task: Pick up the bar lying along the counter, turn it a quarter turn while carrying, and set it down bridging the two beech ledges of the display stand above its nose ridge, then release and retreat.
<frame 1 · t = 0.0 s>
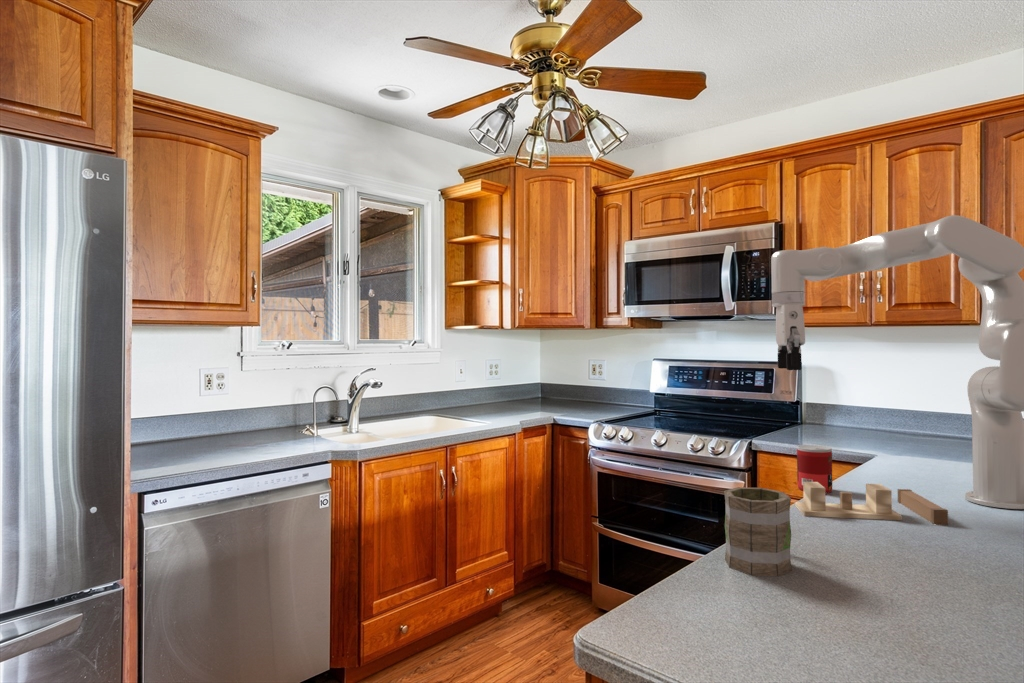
hand: (789, 369, 150), 31 cm above the counter, fingers open, 9 cm apart
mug: (760, 561, 105), on the counter
frame bar: (921, 512, 133), on the counter
display stand: (846, 513, 133), on the counter
canned food: (814, 491, 154), on the counter
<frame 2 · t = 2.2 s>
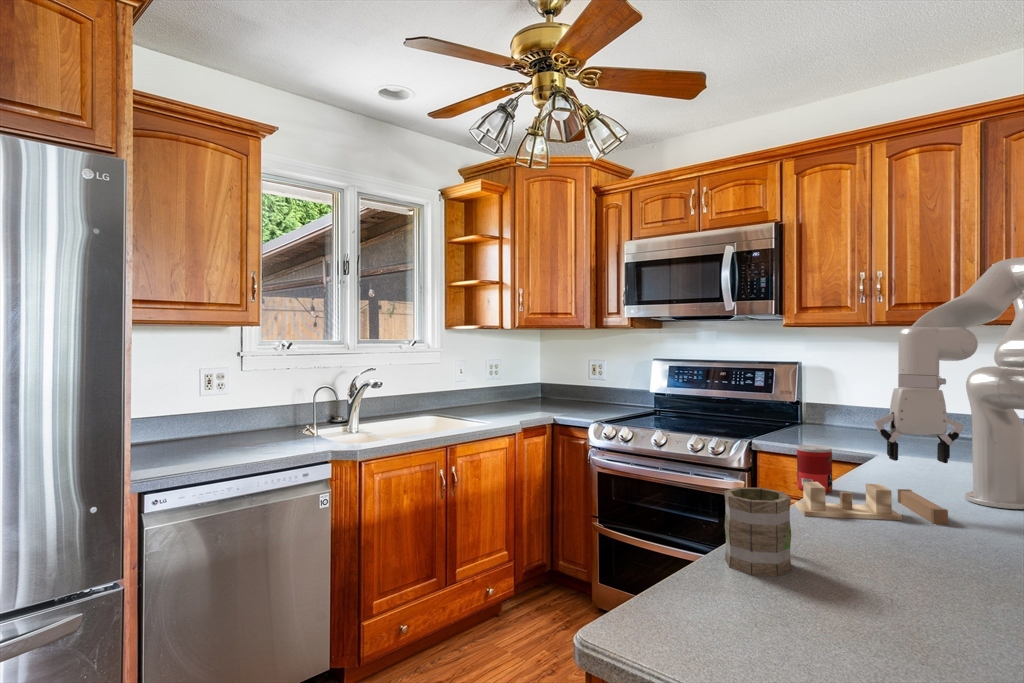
hand: (917, 460, 133), 11 cm above the counter, fingers open, 9 cm apart
nothing on the counter moved.
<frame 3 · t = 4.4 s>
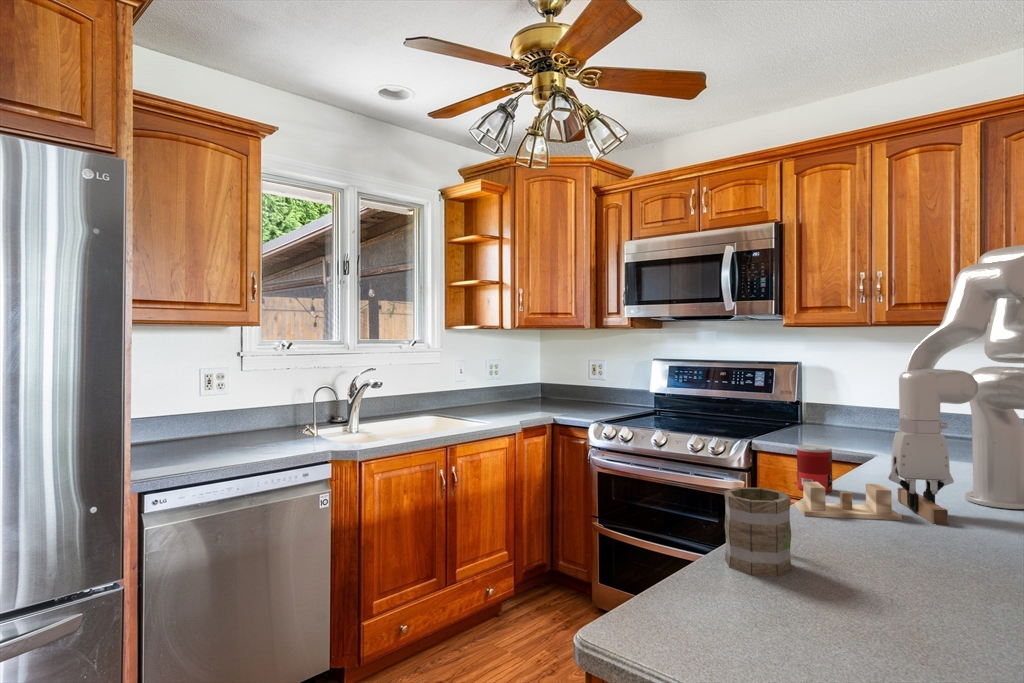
hand: (921, 510, 133), 1 cm above the counter, fingers closed on frame bar, 2 cm apart
frame bar: (921, 512, 133), on the counter, touching gripper
everything else where it was.
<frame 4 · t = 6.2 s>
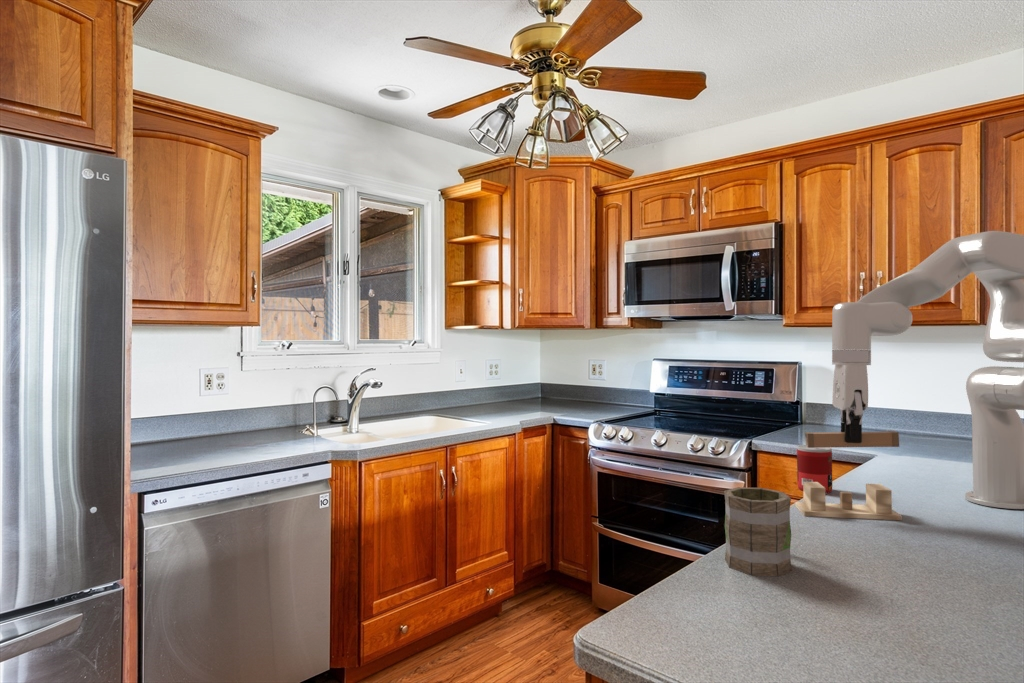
hand: (851, 440, 133), 16 cm above the counter, fingers closed on frame bar
frame bar: (851, 446, 133), point 15 cm above the counter, touching gripper
everything else where it was.
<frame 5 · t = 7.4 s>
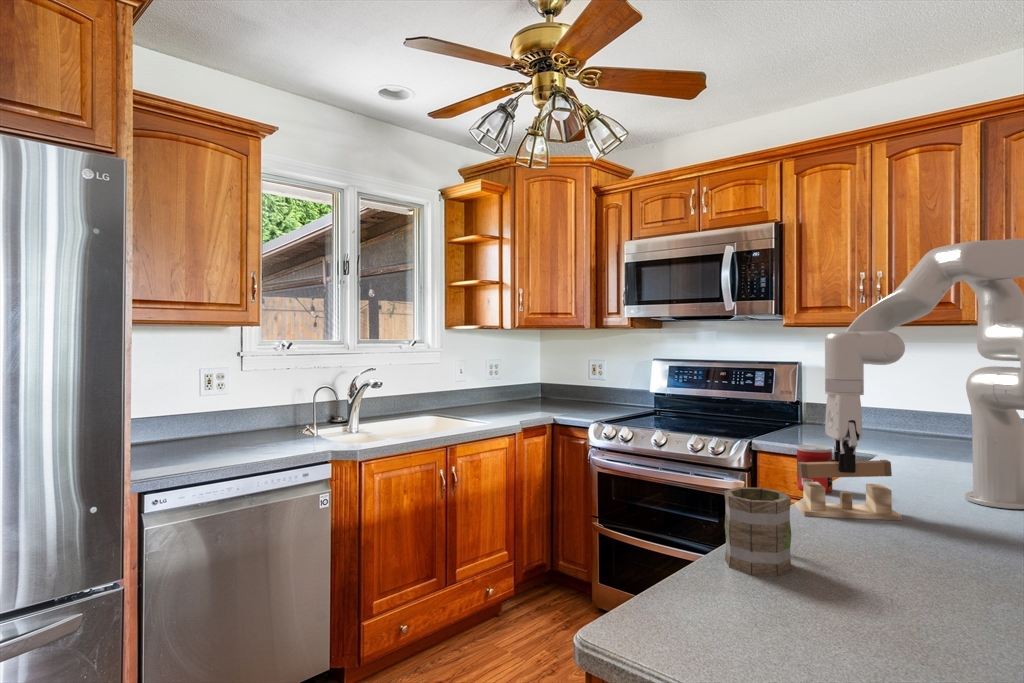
hand: (844, 470, 133), 9 cm above the counter, fingers closed on frame bar, 2 cm apart
frame bar: (844, 476, 133), point 8 cm above the counter, touching gripper
everything else where it was.
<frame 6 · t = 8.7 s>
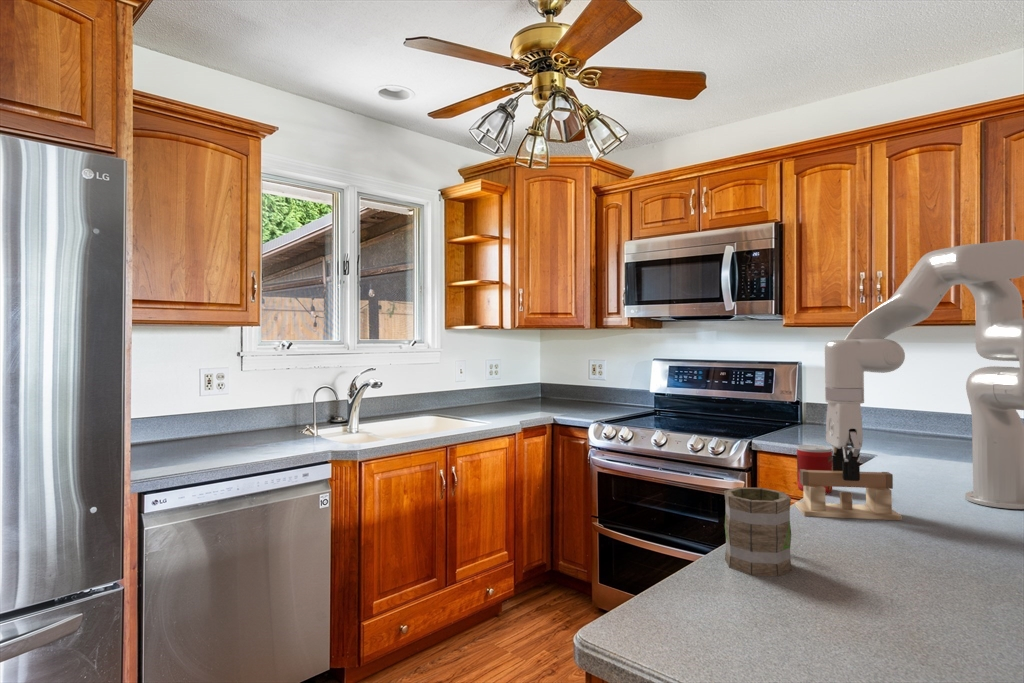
hand: (845, 476, 133), 8 cm above the counter, fingers open, 6 cm apart
frame bar: (845, 485, 133), point 6 cm above the counter, touching display stand
everything else where it was.
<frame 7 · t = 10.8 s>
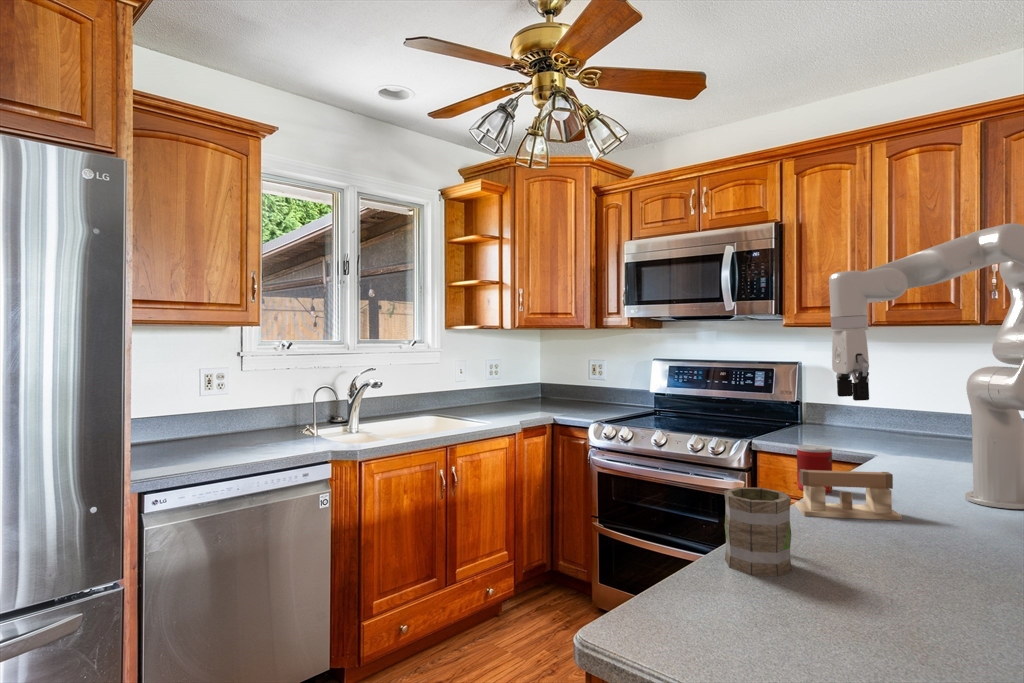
hand: (852, 398, 140), 25 cm above the counter, fingers open, 9 cm apart
nothing on the counter moved.
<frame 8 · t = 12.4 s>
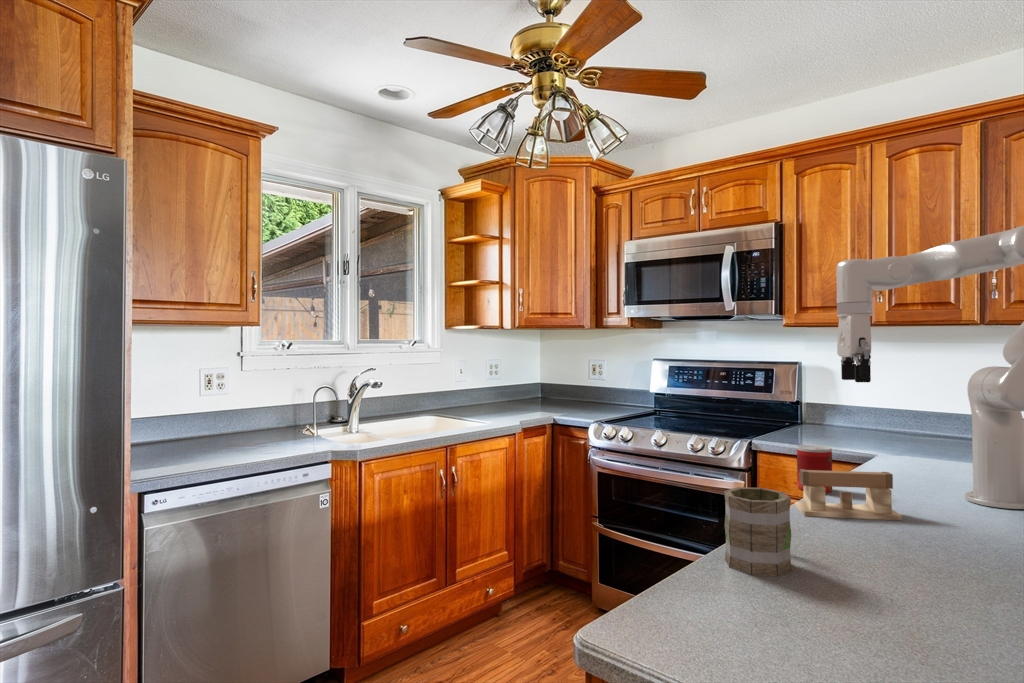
hand: (855, 380, 147), 28 cm above the counter, fingers open, 9 cm apart
nothing on the counter moved.
at the end: frame bar 0.1 cm off-centre on the display stand, point 6.0 cm above the display stand's base; frame bar tilted 0°; the gripper is holding nothing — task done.
